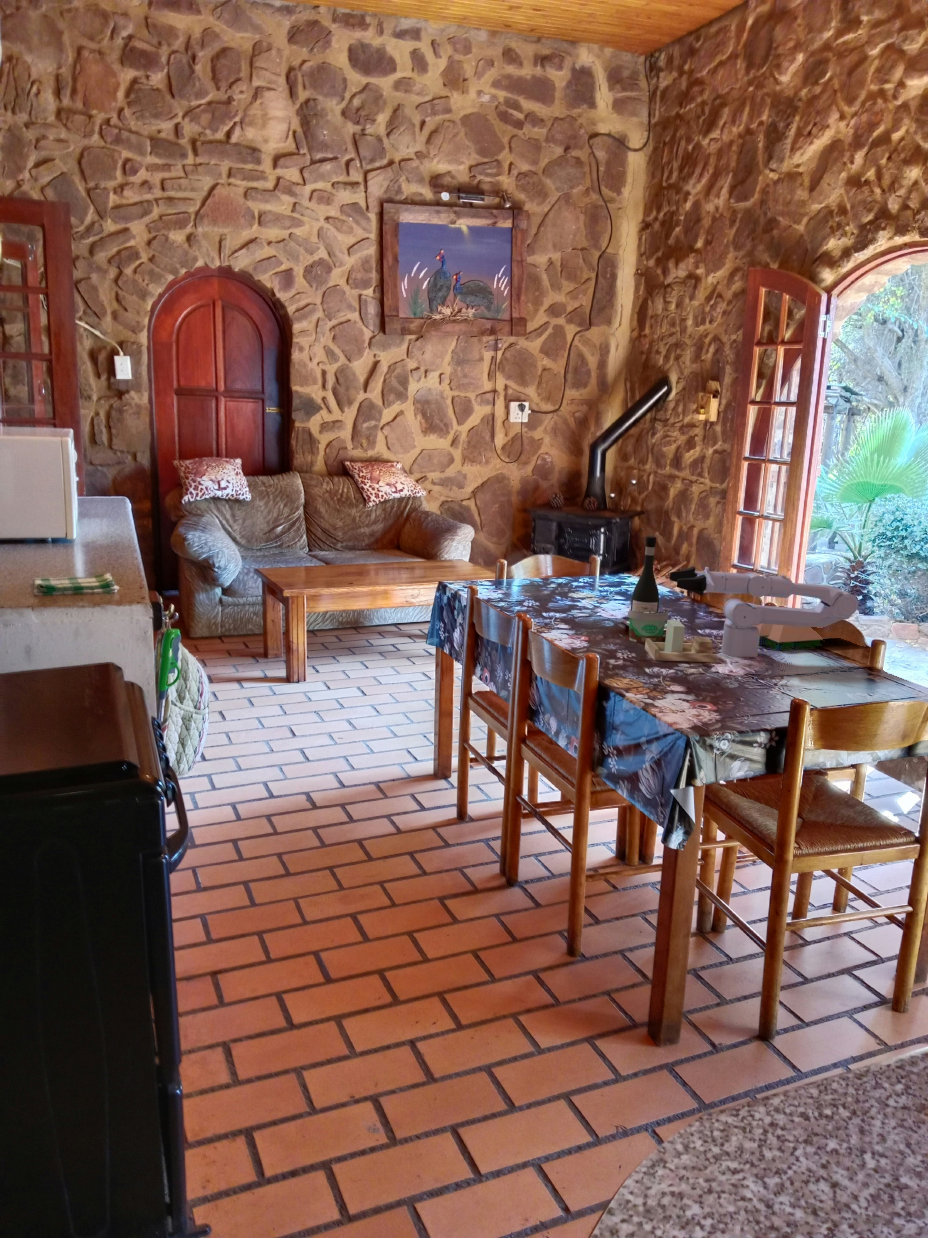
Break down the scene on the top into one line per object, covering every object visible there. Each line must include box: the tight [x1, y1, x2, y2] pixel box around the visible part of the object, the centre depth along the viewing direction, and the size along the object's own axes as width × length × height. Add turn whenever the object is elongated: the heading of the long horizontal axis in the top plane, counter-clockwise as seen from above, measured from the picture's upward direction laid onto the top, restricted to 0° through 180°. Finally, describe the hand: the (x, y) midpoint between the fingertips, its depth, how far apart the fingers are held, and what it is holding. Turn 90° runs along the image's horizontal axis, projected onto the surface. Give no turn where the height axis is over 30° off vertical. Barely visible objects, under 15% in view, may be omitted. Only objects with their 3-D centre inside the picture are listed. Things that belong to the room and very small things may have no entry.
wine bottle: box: [630, 535, 660, 612], centre depth 291 cm, size 8×8×30 cm
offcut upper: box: [693, 636, 713, 650], centre depth 273 cm, size 4×5×2 cm
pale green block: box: [664, 619, 686, 653], centre depth 273 cm, size 3×7×9 cm, turn 3°
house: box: [752, 623, 824, 651], centre depth 301 cm, size 23×33×8 cm
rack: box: [644, 638, 720, 663], centre depth 274 cm, size 18×11×4 cm, turn 93°
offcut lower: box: [691, 644, 714, 654], centre depth 274 cm, size 4×6×2 cm, turn 3°
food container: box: [626, 608, 669, 645], centre depth 285 cm, size 12×6×10 cm, turn 105°
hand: (673, 579), depth 272 cm, fingers open, 7 cm apart
